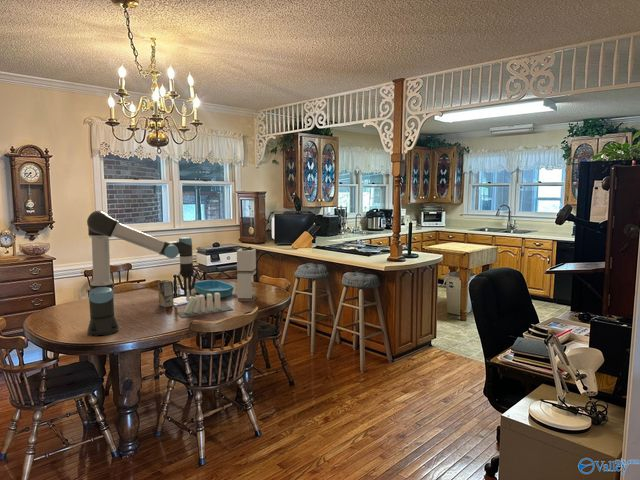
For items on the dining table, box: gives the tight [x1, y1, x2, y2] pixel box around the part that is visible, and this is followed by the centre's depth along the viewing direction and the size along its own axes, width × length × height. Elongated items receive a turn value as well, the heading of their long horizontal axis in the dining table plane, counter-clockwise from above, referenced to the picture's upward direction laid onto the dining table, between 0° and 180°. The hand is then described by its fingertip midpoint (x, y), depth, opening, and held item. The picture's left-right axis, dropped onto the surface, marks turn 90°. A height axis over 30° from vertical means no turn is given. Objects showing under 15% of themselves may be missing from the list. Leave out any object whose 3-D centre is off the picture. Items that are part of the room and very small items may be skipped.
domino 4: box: [206, 294, 214, 311], centre depth 267 cm, size 2×5×10 cm, turn 31°
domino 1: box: [183, 296, 197, 314], centre depth 261 cm, size 2×5×10 cm
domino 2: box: [191, 294, 201, 313], centre depth 263 cm, size 2×5×10 cm, turn 32°
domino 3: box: [198, 294, 206, 312], centre depth 265 cm, size 2×5×10 cm, turn 31°
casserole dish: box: [193, 279, 235, 300], centre depth 311 cm, size 37×22×7 cm, turn 40°
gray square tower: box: [236, 247, 257, 302], centre depth 295 cm, size 11×11×35 cm
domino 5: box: [214, 292, 222, 310], centre depth 270 cm, size 2×5×10 cm, turn 31°
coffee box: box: [157, 279, 175, 308], centre depth 280 cm, size 9×6×16 cm
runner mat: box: [176, 304, 234, 319], centre depth 267 cm, size 32×12×1 cm, turn 121°
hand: (188, 300), depth 260 cm, fingers closed
